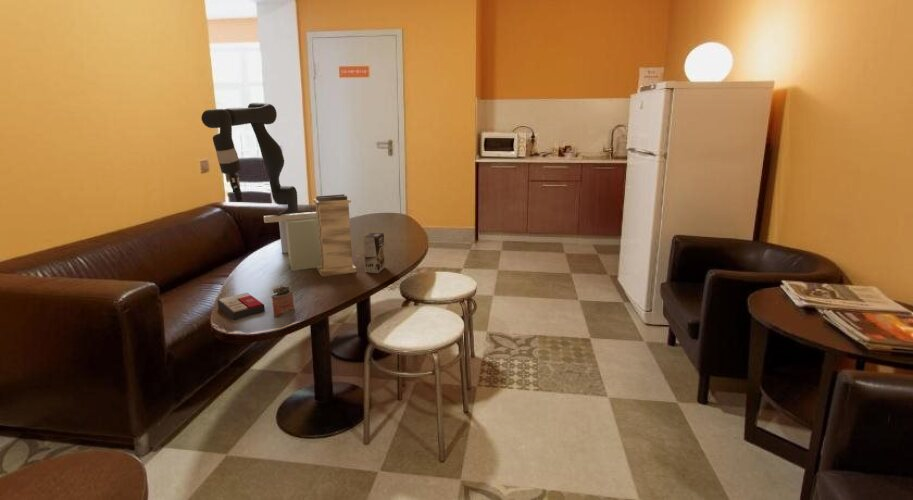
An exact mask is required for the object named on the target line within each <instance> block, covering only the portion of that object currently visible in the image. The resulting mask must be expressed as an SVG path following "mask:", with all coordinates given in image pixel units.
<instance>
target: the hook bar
mask: <svg viewBox="0 0 913 500" xmlns="http://www.w3.org/2000/svg"><path fill="white" fill-rule="evenodd" d="M314 204H315V205H316V203H314ZM315 218H317V211H316V210H315V211H311V212H309V211H308V212H298V213H294V214H282V215H278V214H273V215H272V214H271V215H263V222H264V223H265V224H267V223H279V222H281V221H292V220H304V219H315Z"/></svg>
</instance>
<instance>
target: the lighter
mask: <svg viewBox="0 0 913 500" xmlns="http://www.w3.org/2000/svg"><path fill="white" fill-rule="evenodd" d="M272 292H273V294H272V295H271V300H272V308H273V315H272V316H273V318H274V319H275V318H276V319H279V318H282V317H285V316H287V315H290V314H292V313H294V312H295V310H296V308H295V304H294V295H293V294H294V291H293V289H290V285H288V284H287V285H285V286H284V285H280V287H277V288H273V290H272Z"/></svg>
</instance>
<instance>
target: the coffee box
mask: <svg viewBox="0 0 913 500" xmlns="http://www.w3.org/2000/svg"><path fill="white" fill-rule="evenodd" d="M363 248H364V249H363V250H364V267H365V273H368V274H369V273H373V274H379V273H380V272H381V271H383V270H384V269H385V268H386V255H385V252H386V251H385V234H384V233H383V232H370V233H369V234H367V235H365V236H363Z"/></svg>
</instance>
